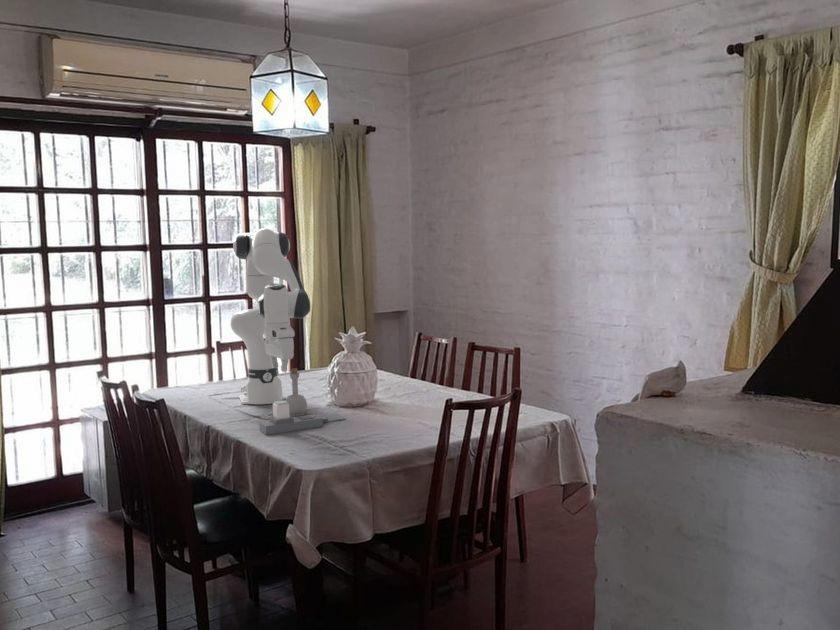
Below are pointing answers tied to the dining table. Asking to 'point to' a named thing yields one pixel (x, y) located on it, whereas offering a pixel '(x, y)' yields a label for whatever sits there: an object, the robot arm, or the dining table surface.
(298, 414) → the potion bottle
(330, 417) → the mat
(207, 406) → the dining table surface
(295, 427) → the power strip
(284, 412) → the block
